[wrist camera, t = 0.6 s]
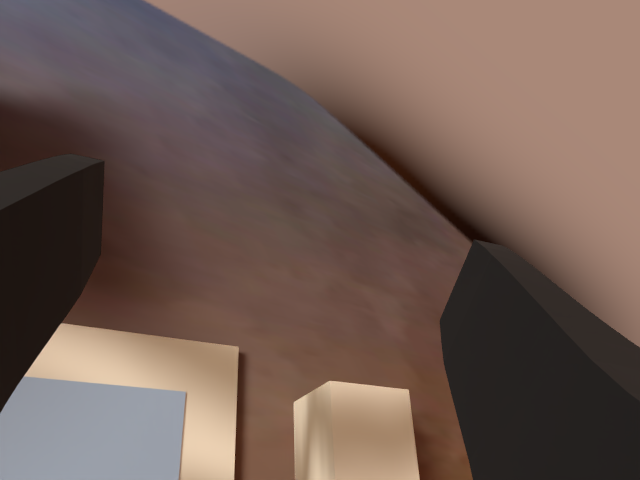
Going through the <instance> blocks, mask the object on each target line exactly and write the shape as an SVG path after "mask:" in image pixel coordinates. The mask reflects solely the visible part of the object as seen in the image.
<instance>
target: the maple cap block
mask: <svg viewBox="0 0 640 480" xmlns="http://www.w3.org/2000/svg"><path fill="white" fill-rule="evenodd" d="M294 448H295V480H420V478H419V470H418V462H417V454H416V446H415V438H414V430H413V422H412V414H411V406H410V397H409V390H406V389H397V388H389V387H380V386H371V385H362V384H354V383H345V382H336V381H329V382H327V383H325V384H324V385H322V386H320V387H319V388H317V389H315V390H314V391H312V392H310V393H309V394H307V395H305V396H303V397H302V398H300V399H298V400H297V401H295V402H294Z"/></svg>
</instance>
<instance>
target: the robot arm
mask: <svg viewBox="0 0 640 480" xmlns="http://www.w3.org/2000/svg"><path fill="white" fill-rule="evenodd" d="M103 186H104V161H103V160H98V159H94V158H89V157H84V156H80V155H75V154H65V155H59V156H55V157H51V158H47V159H43V160H40V161H36V162H32V163H29V164H26V165H22V166H19V167H15V168H12V169H8V170H5V171H2V172H0V413H1V411H2V410H3V408H4V406H5V404H6V403H7V401H8V400H9V398H10V397H11V395H12V393H13V392H14V390H15V389H16V387H17V385H18V384H19V383H20V381H21V380H22V378H23V377H24V375H25V374H26V373H27V371H28V370H29V368H30V367H31V365H32V364H33V363H34V361H35V360H36V358H37V357H38V355H39V354H40V353H41V351H42V350H43V348H44V347H45V345H46V344H47V343H48V341H49V340H50V338H51V337H52V336H53V334H54V333H55V331H56V330H57V328H58V327H59V326H60V324H61V323H62V321H63V320H64V318H65V317H66V315H67V314H68V313H69V311H70V310H71V308H72V307H73V305H74V304H75V302H76V301H77V299H78V298H79V296H80V295H81V293H82V291H83V289H84V287H85V285H86V283H87V281H88V279H89V277H90V275H91V273H92V271H93V269H94V267H95V265H96V263H97V260H98V258H99V256H100V254H101V236H102V211H103ZM440 329H441V342H442V351H443V360H444V365H445V370H446V374H447V378H448V382H449V386H450V390H451V394H452V398H453V402H454V405H455V409H456V413H457V417H458V421H459V425H460V428H461V432H462V436H463V440H464V444H465V447H466V451H467V455H468V459H469V463H470V468H471V472H472V477H473V480H640V347H638V346H637V345H635V344H634V343H632V342H631V341H629V340H628V339H627V338H625V337H624V336H622V335H621V334H620V333H618V332H617V331H616V330H614V329H613V328H611V327H610V326H609V325H607V324H606V323H604V322H603V321H602V320H600V319H599V318H598V317H596V316H595V315H594V314H593V313H591V312H589V311H588V310H587V309H586V308H585V307H583V306H582V305H581V304H580V303H578V302H577V301H576V300H574V299H573V298H572V297H571V296H570V295H568V294H567V293H566V292H564V291H563V290H562V289H561V288H559V287H558V286H557V285H556V284H554V283H553V282H552V281H551V280H550V279H548V278H547V277H546V276H545V275H543V274H542V273H541V272H540V271H538V270H537V269H536V268H534V267H533V266H532V265H531V264H529V263H528V262H527V261H525V260H524V259H523V258H521V257H520V256H519V255H517V254H516V253H514V252H513V251H511V250H509V249H508V248H506V247H504V246H501V245H496V244H491V243H487V242H483V241H478V240H474V241H473V243H472V246H471V248H470V250H469V253H468V255H467V258H466V260H465V262H464V265H463V267H462V269H461V272H460V274H459V276H458V279H457V281H456V283H455V286H454V288H453V290H452V293H451V295H450V297H449V300H448V302H447V305H446V307H445V309H444V312H443V314H442V316H441V319H440Z"/></svg>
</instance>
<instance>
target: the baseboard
mask: <svg viewBox="0 0 640 480" xmlns="http://www.w3.org/2000/svg"><path fill="white" fill-rule="evenodd" d="M238 351H239V347H235V346H228V345H220V344H213V343H205V342H198V341H190V340H183V339H175V338H168V337H160V336H153V335H145V334H138V333H130V332H123V331H115V330H108V329H100V328H93V327H85V326H78V325H71V324H63V323H61V324H60V326H59V327H58V328H57V330H56V331H55V333H54V334H53V336H52V337H51V338H50V340H49V341H48V343H47V344H46V345H45V347H44V348H43V350H42V351H41V353H40V354H39V355H38V357H37V358H36V360H35V361H34V363H33V364H32V365H31V367H30V368H29V370H28V371H27V373H26V374H25V375H24V377H23V378H22V380H21V381H20V383H19V384H18V385H17V387H16V389H15V390H14V392H13V393H12V395H11V397H10V398H9V400H8V401H7V403H6V404H5V406H4V408H3V410H2V411H1V413H0V480H234V467H235V438H236V409H237V380H238Z"/></svg>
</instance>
